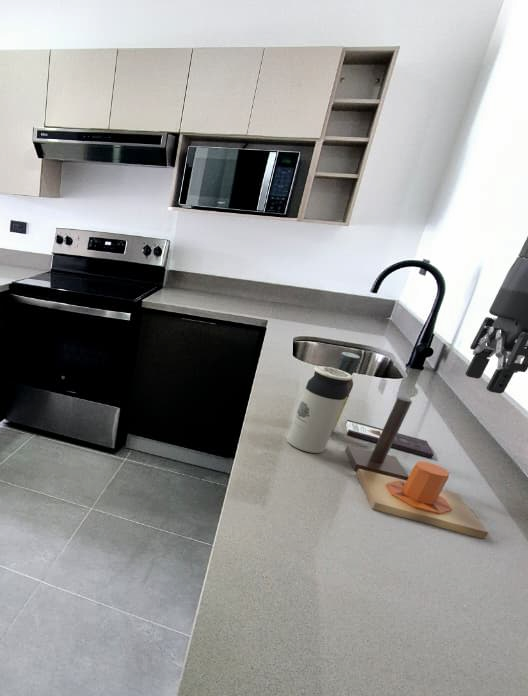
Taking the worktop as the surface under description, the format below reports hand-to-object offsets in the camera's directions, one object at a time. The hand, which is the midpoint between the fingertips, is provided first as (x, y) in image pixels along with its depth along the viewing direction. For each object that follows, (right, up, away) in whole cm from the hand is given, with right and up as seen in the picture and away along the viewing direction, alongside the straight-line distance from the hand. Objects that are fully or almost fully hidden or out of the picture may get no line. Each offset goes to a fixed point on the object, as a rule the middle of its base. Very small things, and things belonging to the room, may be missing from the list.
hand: (482, 384), depth 86 cm
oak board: (-5, -22, +10) cm, 25 cm away
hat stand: (-4, -16, +23) cm, 28 cm away
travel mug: (-16, -12, +28) cm, 35 cm away
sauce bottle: (-7, -9, +38) cm, 40 cm away
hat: (-5, -21, +9) cm, 23 cm away
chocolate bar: (+9, -11, +38) cm, 41 cm away
